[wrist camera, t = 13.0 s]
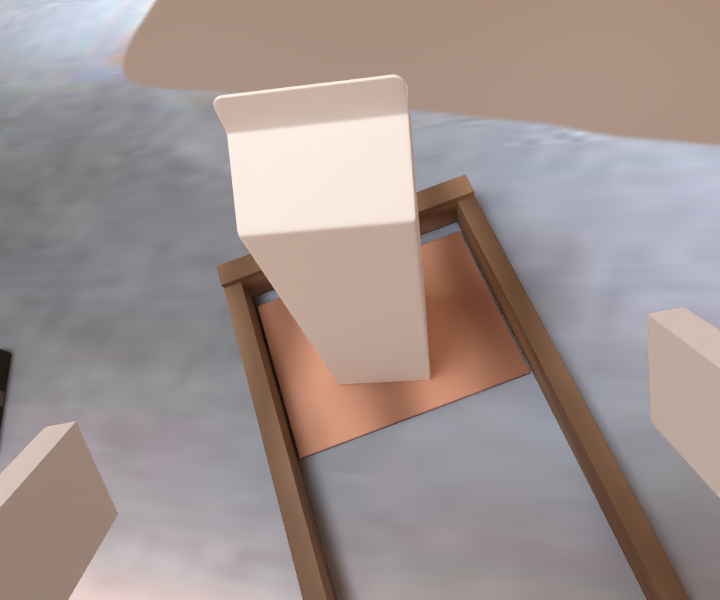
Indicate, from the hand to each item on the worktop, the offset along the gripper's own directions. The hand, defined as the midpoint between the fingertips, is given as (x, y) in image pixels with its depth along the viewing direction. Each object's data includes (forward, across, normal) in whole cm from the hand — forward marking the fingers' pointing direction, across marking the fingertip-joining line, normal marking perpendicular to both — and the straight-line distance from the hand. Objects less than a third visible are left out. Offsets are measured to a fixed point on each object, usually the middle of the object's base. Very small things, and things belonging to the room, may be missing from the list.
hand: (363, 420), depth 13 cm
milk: (+22, 0, -8) cm, 24 cm away
